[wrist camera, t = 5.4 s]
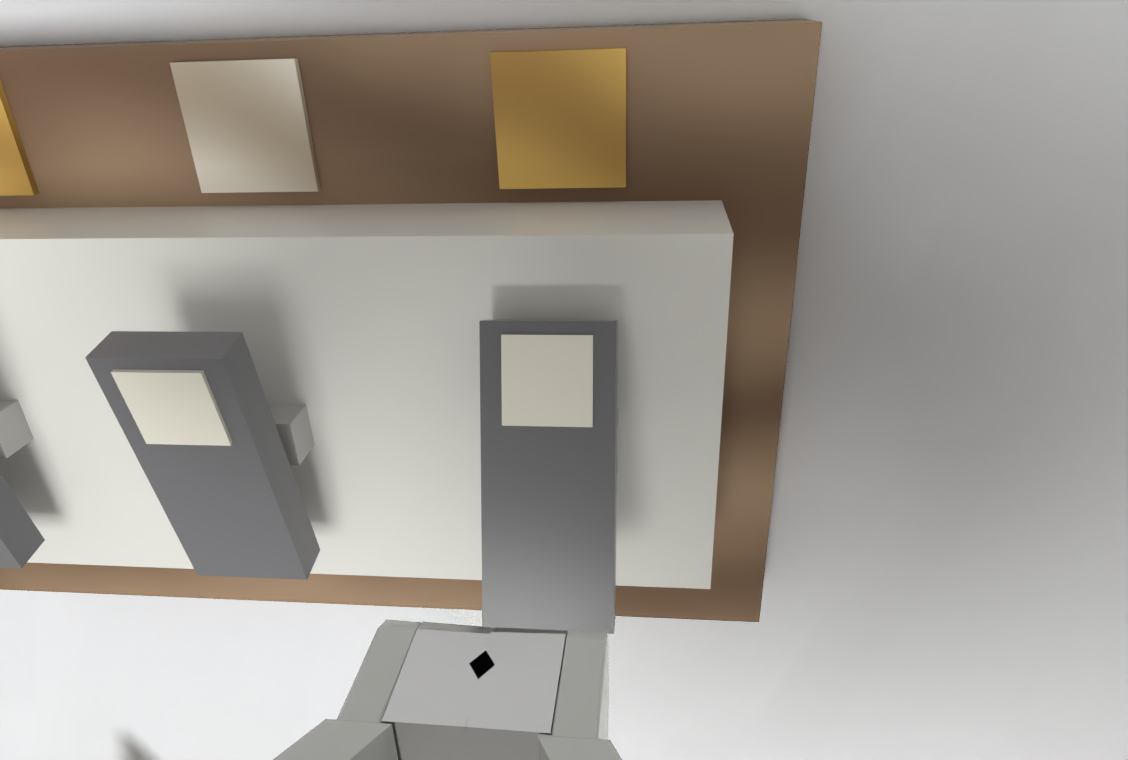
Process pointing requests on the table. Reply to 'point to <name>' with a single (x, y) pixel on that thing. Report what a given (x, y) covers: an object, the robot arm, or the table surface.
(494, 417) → the block
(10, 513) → the block
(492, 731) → the robot arm
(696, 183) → the chart board
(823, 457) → the table surface
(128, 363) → the rocker
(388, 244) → the switch housing
